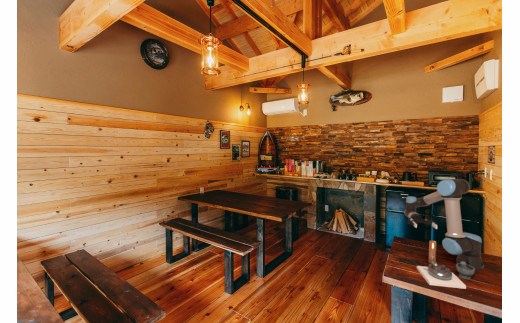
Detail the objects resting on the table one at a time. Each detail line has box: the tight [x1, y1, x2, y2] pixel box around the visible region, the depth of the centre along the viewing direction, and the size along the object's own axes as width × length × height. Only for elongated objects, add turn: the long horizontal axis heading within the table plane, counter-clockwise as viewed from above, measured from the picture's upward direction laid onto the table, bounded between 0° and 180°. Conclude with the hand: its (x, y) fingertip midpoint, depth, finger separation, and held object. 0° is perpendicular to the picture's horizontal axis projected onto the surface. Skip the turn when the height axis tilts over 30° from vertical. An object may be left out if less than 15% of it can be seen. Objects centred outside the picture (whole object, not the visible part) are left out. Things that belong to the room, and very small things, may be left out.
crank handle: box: [427, 240, 453, 281], centre depth 160 cm, size 20×13×19 cm, turn 166°
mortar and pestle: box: [455, 261, 476, 280], centre depth 158 cm, size 11×9×12 cm
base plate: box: [416, 265, 467, 290], centre depth 157 cm, size 20×20×2 cm
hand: (426, 226), depth 176 cm, fingers open, 13 cm apart
